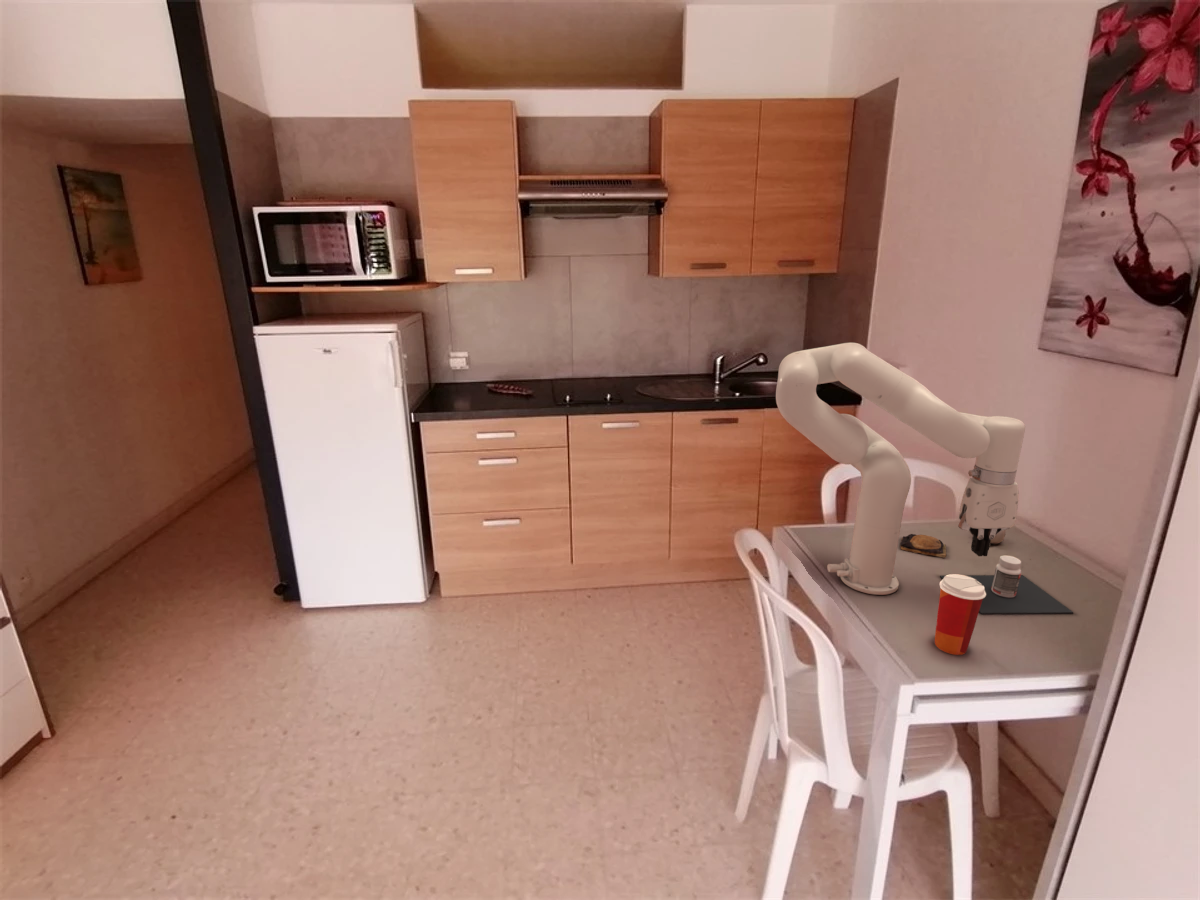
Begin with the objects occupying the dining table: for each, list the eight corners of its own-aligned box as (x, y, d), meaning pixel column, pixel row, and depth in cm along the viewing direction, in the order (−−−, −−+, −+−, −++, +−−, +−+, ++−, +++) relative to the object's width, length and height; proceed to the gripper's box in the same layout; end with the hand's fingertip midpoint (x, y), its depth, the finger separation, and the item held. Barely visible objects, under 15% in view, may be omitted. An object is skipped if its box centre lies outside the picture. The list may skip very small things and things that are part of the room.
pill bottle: (1019, 599, 135) (1027, 565, 133) (995, 597, 136) (1003, 563, 134) (1010, 588, 140) (1018, 555, 137) (987, 586, 141) (994, 553, 138)
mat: (980, 614, 130) (981, 612, 130) (939, 576, 146) (939, 575, 145) (1073, 613, 131) (1073, 612, 131) (1022, 576, 146) (1022, 575, 146)
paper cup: (958, 634, 123) (971, 572, 119) (981, 658, 116) (996, 593, 112) (919, 634, 123) (931, 572, 119) (941, 658, 116) (954, 593, 112)
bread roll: (945, 546, 161) (948, 533, 160) (945, 559, 154) (948, 546, 153) (901, 537, 166) (903, 525, 165) (899, 550, 159) (901, 537, 158)
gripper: (969, 481, 126) (955, 562, 131) (1041, 480, 126) (1024, 560, 131) (948, 469, 133) (936, 546, 138) (1016, 468, 133) (1001, 545, 139)
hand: (978, 553), depth 135 cm, fingers closed
